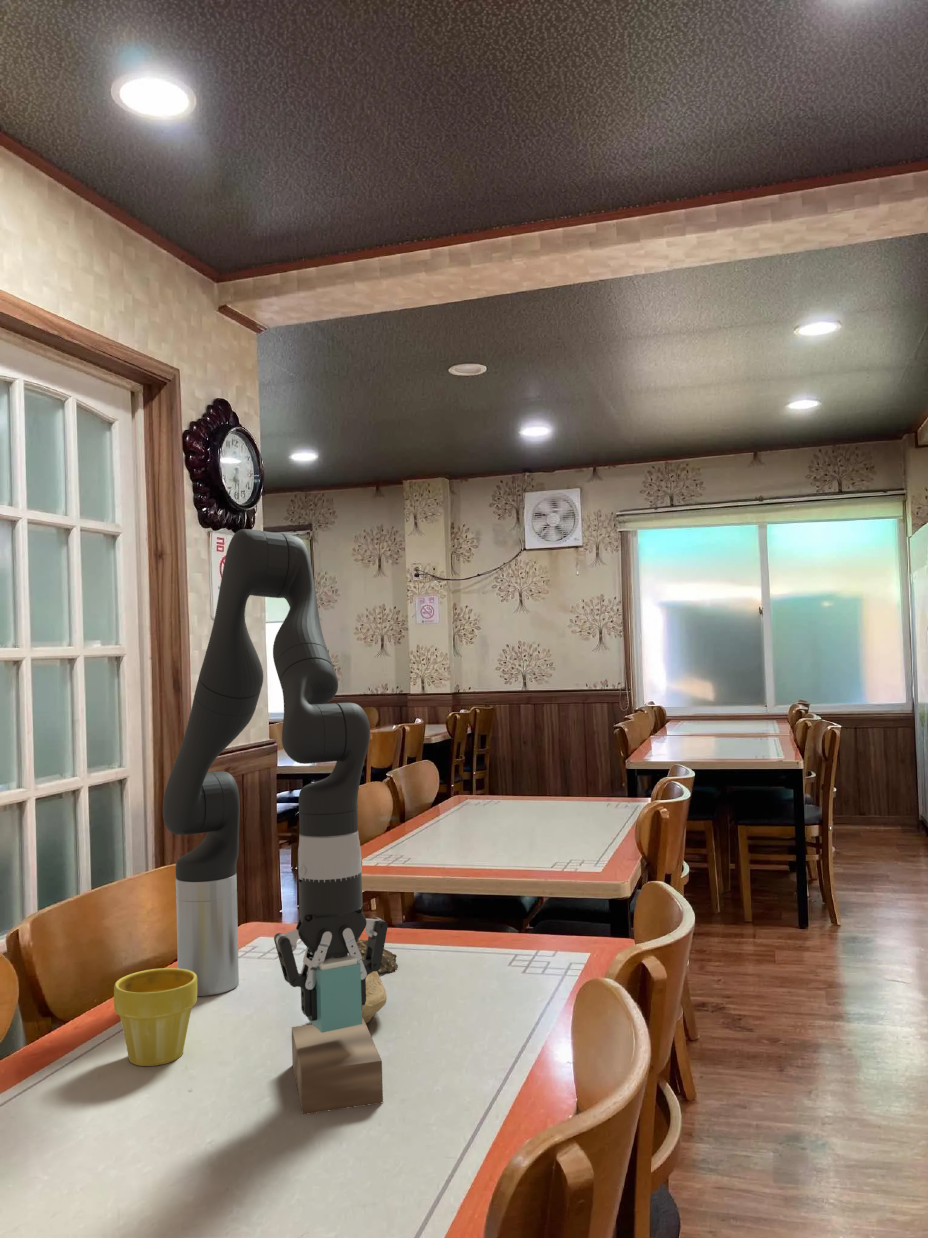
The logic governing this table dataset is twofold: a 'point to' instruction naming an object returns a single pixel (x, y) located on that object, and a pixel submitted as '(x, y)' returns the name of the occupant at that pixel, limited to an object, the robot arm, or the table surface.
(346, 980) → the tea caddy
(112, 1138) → the table surface
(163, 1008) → the plant pot
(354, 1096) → the brown rectangular block
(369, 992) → the oil lamp
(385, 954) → the bread roll
